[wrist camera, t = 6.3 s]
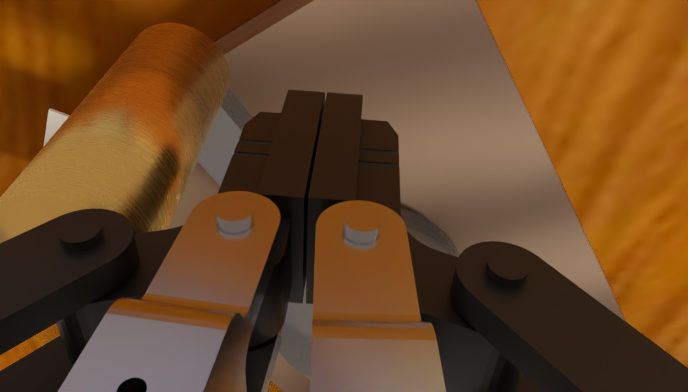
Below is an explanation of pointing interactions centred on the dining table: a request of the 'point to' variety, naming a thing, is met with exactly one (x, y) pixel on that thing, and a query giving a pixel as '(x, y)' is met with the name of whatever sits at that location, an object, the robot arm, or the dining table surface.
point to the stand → (415, 122)
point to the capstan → (155, 151)
